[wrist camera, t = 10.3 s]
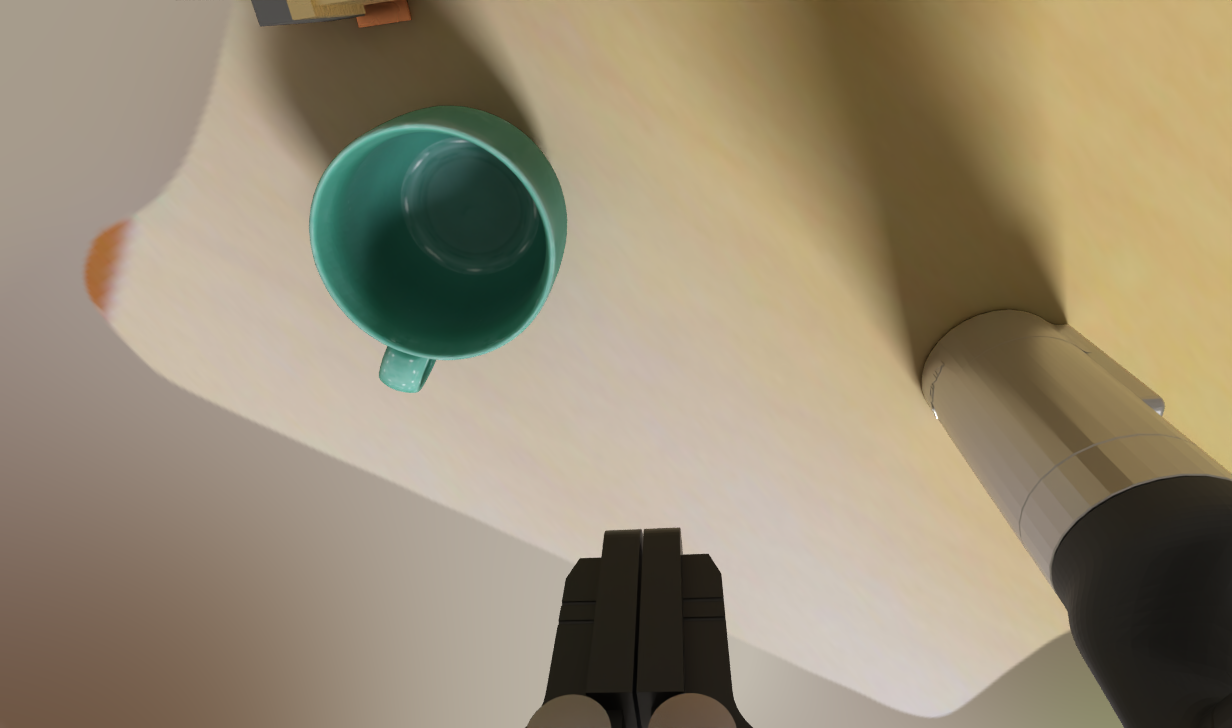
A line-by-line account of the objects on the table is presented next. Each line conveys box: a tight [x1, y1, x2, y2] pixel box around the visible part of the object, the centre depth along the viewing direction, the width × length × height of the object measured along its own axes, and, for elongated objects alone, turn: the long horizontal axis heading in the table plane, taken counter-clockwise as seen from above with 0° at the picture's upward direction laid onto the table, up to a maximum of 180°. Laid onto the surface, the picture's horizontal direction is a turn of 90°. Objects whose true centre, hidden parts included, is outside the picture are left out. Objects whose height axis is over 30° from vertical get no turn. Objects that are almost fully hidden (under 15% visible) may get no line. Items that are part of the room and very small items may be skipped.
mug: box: [309, 106, 567, 393], centre depth 39 cm, size 17×13×10 cm
